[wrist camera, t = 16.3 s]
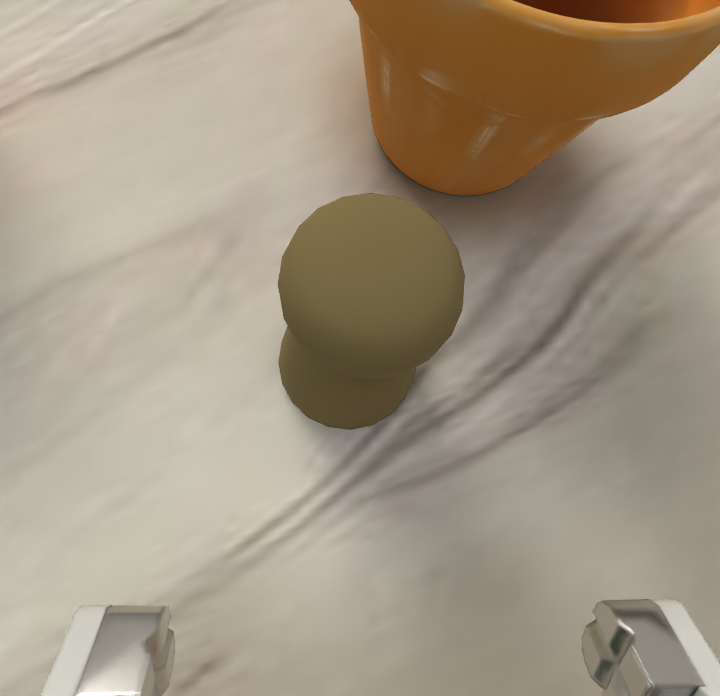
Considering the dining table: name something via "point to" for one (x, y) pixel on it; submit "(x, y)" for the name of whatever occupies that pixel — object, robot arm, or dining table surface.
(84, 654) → the robot arm
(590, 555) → the dining table surface
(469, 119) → the flower pot
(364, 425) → the pepper shaker
